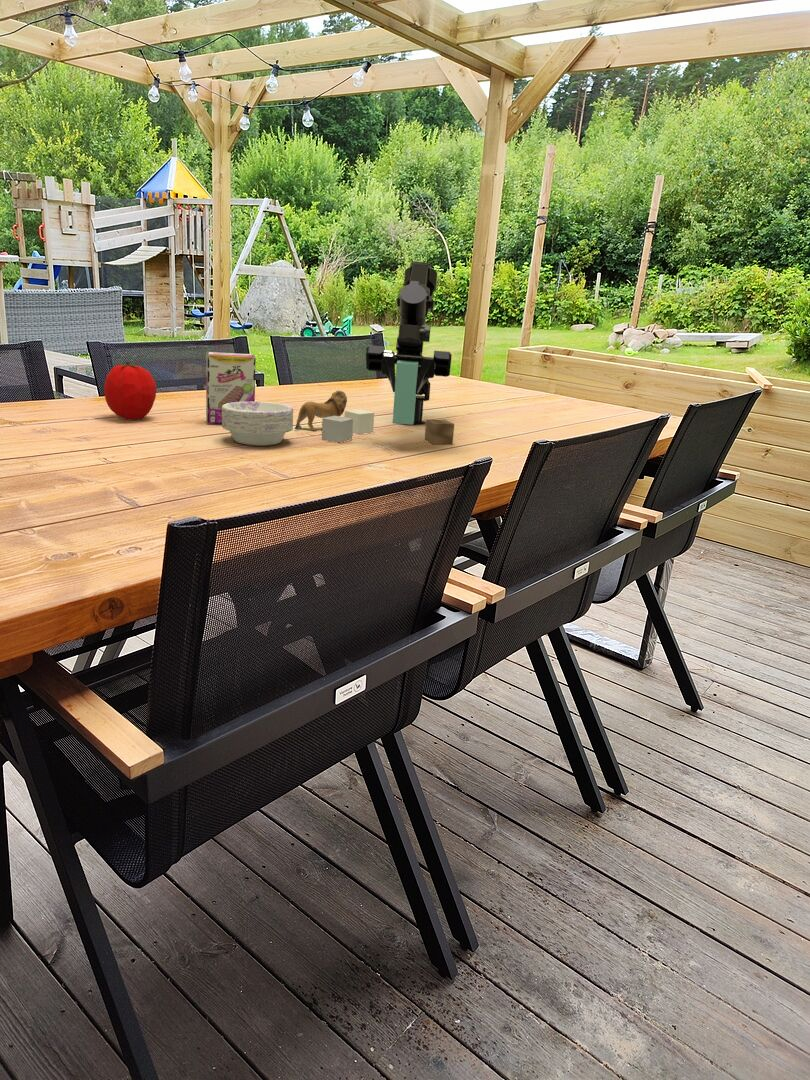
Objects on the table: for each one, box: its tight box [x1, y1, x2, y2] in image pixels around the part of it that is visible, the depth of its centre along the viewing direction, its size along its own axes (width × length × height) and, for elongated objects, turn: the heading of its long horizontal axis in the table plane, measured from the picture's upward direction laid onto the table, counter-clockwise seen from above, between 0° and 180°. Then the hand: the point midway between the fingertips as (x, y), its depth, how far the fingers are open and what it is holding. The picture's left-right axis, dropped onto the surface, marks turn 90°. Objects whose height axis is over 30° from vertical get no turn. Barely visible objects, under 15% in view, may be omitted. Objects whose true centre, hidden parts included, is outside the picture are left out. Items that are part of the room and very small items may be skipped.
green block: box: [392, 360, 418, 426], centre depth 167 cm, size 4×4×13 cm
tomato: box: [103, 361, 158, 421], centre depth 179 cm, size 12×12×13 cm
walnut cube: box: [424, 419, 455, 446], centre depth 181 cm, size 5×5×5 cm
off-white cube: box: [344, 408, 375, 435], centre depth 185 cm, size 5×5×5 cm
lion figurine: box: [293, 390, 348, 432], centre depth 185 cm, size 15×5×9 cm, turn 131°
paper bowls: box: [221, 401, 294, 447], centre depth 167 cm, size 15×15×8 cm
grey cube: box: [321, 416, 353, 444], centre depth 175 cm, size 5×5×5 cm
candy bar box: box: [205, 351, 257, 425], centre depth 182 cm, size 11×5×16 cm, turn 108°
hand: (405, 392), depth 166 cm, fingers closed on green block, 4 cm apart
